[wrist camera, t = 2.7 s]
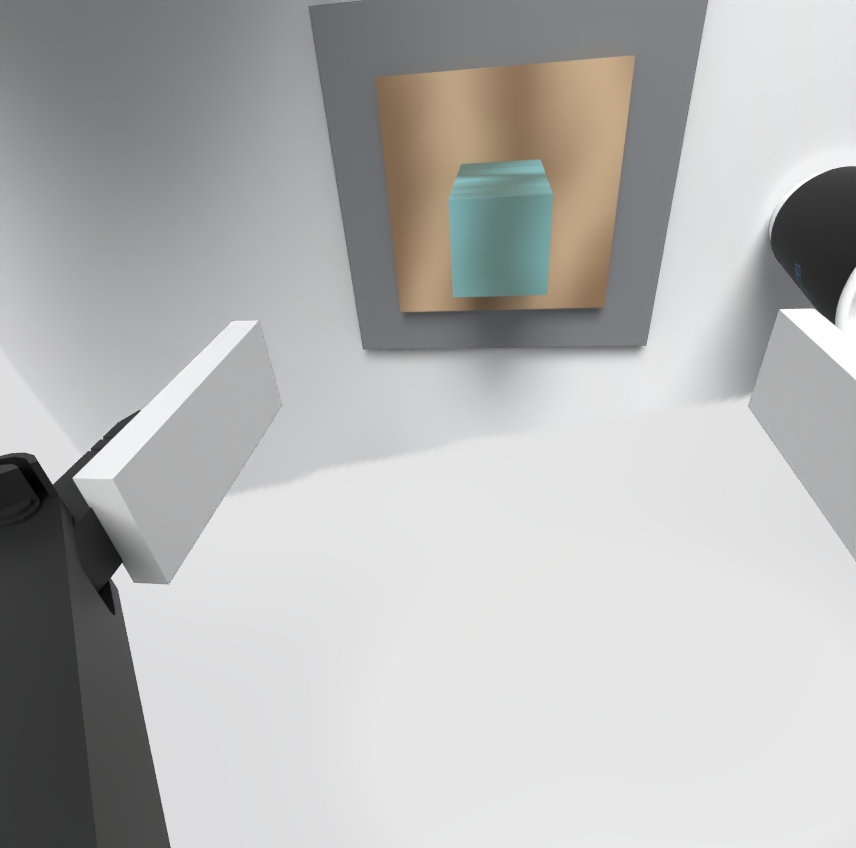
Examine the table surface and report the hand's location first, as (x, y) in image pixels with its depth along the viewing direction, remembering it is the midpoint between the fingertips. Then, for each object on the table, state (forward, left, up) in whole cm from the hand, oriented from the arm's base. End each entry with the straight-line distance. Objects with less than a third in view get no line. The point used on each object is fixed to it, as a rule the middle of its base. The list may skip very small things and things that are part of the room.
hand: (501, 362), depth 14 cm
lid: (0, 0, -18) cm, 18 cm away
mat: (0, 0, -19) cm, 19 cm away
